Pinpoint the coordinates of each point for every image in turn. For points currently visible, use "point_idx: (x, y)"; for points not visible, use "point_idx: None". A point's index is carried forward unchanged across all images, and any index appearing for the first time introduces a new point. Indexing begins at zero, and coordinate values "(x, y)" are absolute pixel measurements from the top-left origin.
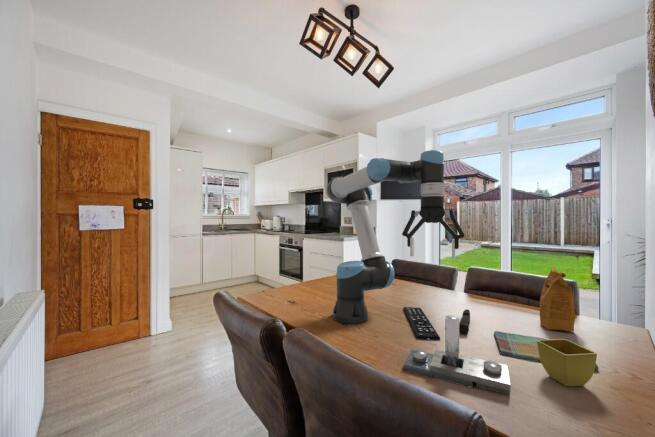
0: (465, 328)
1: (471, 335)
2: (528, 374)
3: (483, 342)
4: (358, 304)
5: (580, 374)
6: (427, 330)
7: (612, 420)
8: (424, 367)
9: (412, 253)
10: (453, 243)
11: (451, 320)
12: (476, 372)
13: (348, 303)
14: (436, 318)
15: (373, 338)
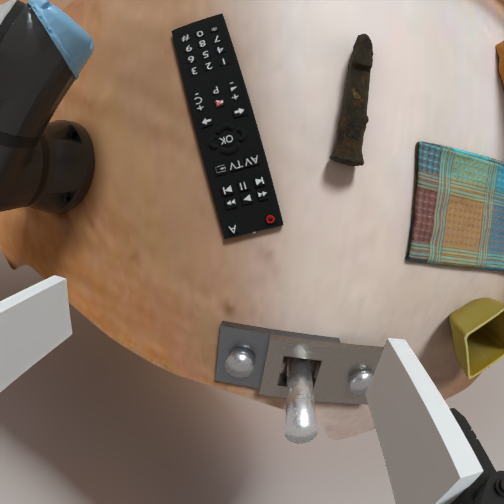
0: (354, 164)
1: (365, 163)
2: (423, 322)
3: (386, 201)
4: (51, 189)
5: (475, 347)
6: (249, 197)
7: (453, 385)
8: (250, 381)
9: (58, 340)
10: (407, 496)
11: (297, 441)
12: (333, 392)
13: (34, 205)
14: (272, 63)
15: (133, 270)
